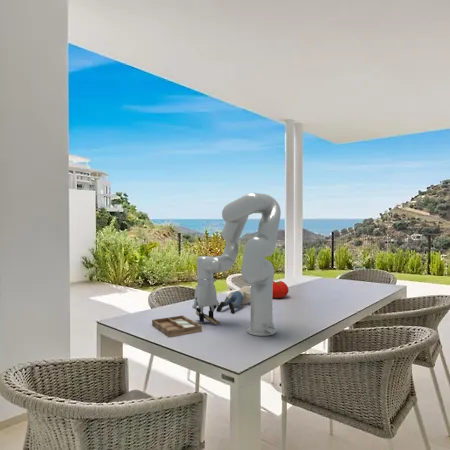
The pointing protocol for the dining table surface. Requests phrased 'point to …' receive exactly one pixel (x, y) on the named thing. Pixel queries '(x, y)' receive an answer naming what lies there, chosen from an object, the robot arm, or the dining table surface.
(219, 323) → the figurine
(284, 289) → the tomato
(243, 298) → the toy
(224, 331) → the dining table surface
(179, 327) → the wooden compartment tray
